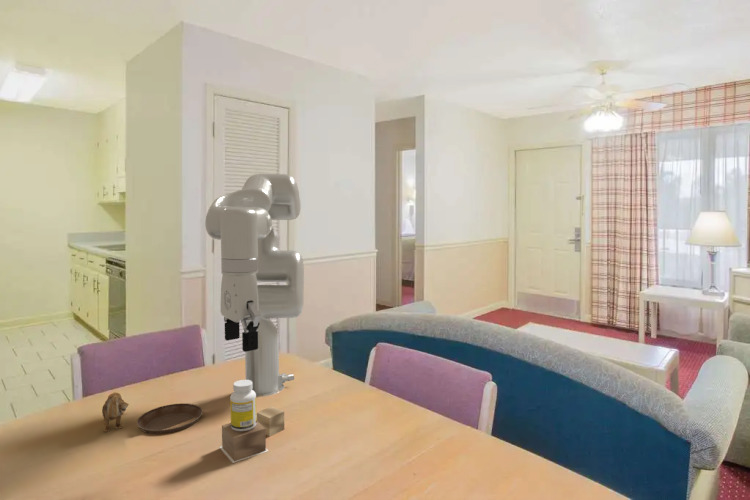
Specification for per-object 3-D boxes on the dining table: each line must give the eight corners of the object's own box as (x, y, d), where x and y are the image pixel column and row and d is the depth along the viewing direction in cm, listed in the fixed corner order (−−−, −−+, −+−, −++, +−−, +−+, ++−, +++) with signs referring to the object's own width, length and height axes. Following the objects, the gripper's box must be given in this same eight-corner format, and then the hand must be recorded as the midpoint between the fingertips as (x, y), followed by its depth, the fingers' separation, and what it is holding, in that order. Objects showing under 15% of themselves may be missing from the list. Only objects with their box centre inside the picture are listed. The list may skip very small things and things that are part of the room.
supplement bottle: (240, 419, 103) (240, 376, 102) (261, 423, 101) (261, 380, 101) (225, 429, 98) (224, 385, 97) (247, 434, 96) (246, 389, 96)
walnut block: (252, 437, 105) (252, 416, 104) (265, 450, 99) (265, 428, 99) (222, 447, 101) (221, 425, 100) (234, 461, 95) (234, 438, 95)
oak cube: (271, 424, 112) (271, 406, 112) (284, 429, 109) (284, 411, 109) (257, 430, 108) (256, 412, 108) (269, 436, 106) (269, 417, 105)
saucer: (122, 434, 109) (122, 423, 109) (170, 409, 123) (169, 399, 123) (171, 445, 104) (171, 434, 104) (215, 418, 118) (214, 408, 117)
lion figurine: (130, 432, 109) (129, 396, 108) (104, 438, 106) (103, 401, 105) (122, 410, 121) (121, 377, 120) (99, 415, 118) (98, 381, 117)
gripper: (208, 263, 102) (209, 338, 103) (238, 272, 88) (240, 358, 90) (240, 260, 106) (241, 332, 108) (274, 269, 93) (275, 351, 95)
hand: (240, 344), depth 99 cm, fingers open, 9 cm apart
